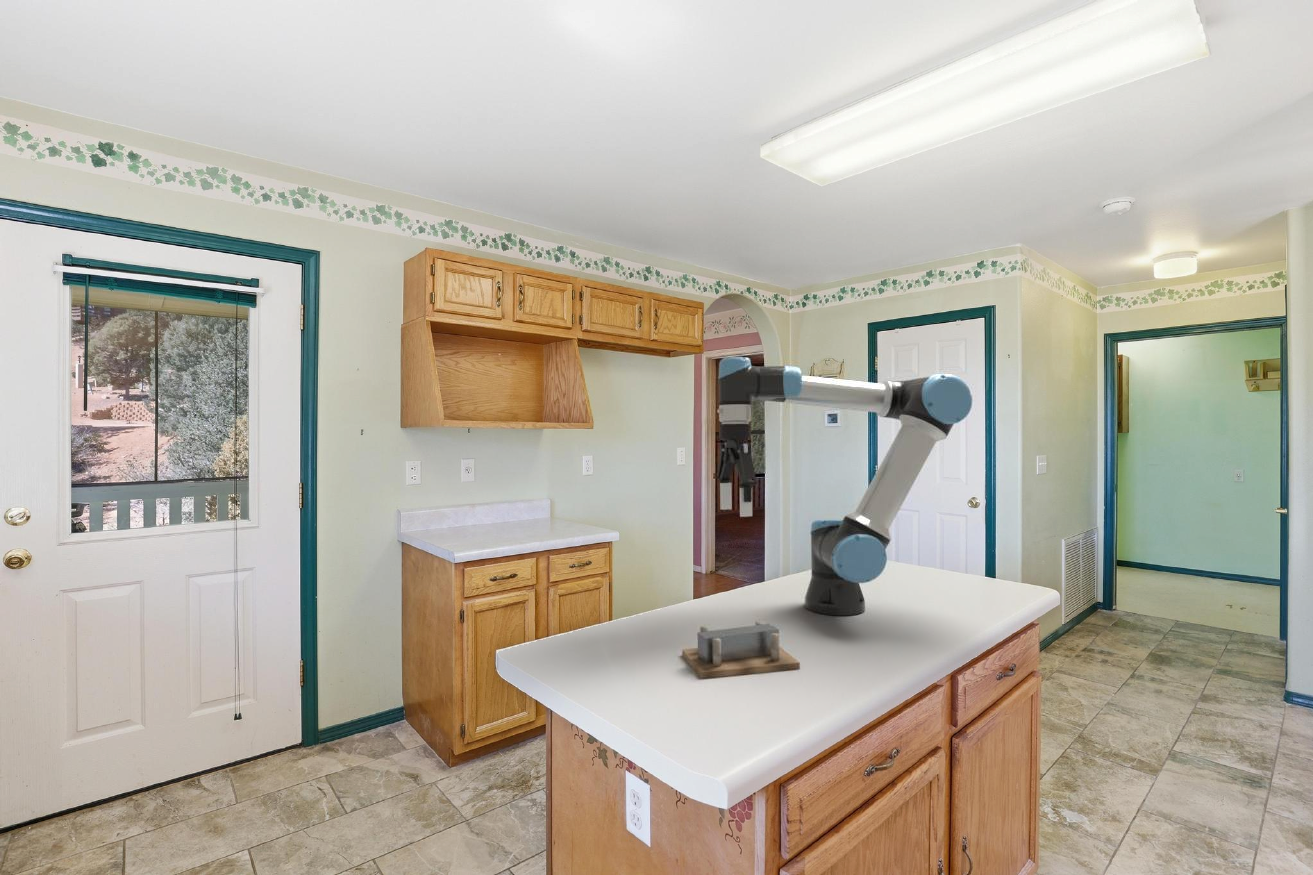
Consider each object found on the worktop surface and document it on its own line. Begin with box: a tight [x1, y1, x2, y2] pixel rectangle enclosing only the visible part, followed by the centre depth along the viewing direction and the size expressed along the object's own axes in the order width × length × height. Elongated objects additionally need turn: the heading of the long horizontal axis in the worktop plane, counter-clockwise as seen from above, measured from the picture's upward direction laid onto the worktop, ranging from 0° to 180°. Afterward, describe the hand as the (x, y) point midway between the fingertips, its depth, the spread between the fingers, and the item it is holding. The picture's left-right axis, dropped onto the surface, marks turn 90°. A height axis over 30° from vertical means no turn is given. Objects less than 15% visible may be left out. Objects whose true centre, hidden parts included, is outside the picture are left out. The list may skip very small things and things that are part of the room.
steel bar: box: [697, 623, 780, 664], centre depth 128 cm, size 16×4×5 cm, turn 109°
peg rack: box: [681, 621, 801, 680], centre depth 128 cm, size 20×13×6 cm, turn 103°
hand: (735, 512), depth 152 cm, fingers open, 13 cm apart
